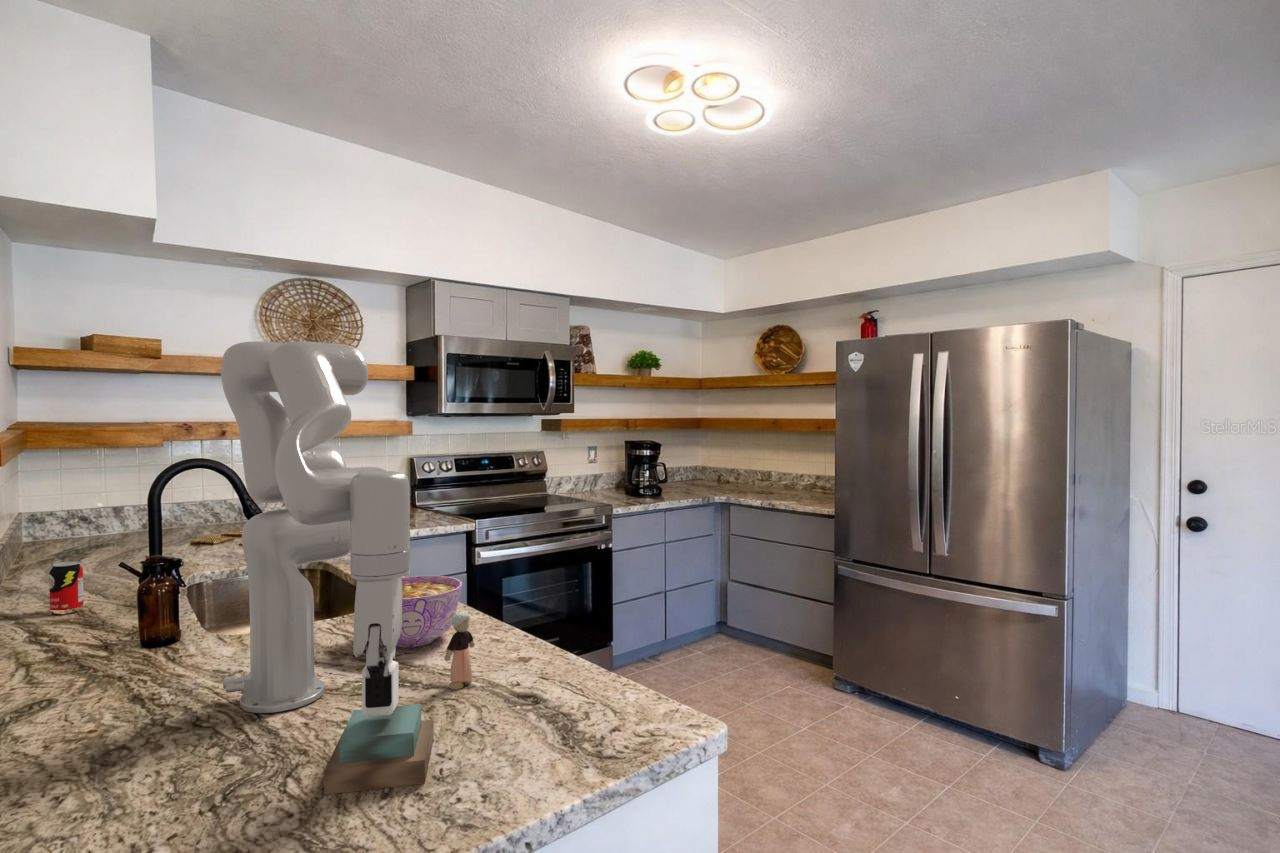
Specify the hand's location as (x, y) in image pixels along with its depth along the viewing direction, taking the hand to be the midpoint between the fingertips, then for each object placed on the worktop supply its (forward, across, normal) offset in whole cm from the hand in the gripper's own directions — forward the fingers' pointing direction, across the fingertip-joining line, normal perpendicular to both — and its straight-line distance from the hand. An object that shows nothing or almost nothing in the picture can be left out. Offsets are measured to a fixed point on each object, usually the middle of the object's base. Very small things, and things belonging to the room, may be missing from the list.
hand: (381, 697), depth 91 cm
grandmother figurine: (+9, -27, +9) cm, 30 cm away
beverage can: (+10, -95, -88) cm, 130 cm away
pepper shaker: (+2, 0, 0) cm, 2 cm away
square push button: (+9, 0, 0) cm, 9 cm away
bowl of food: (+10, -53, -2) cm, 54 cm away
